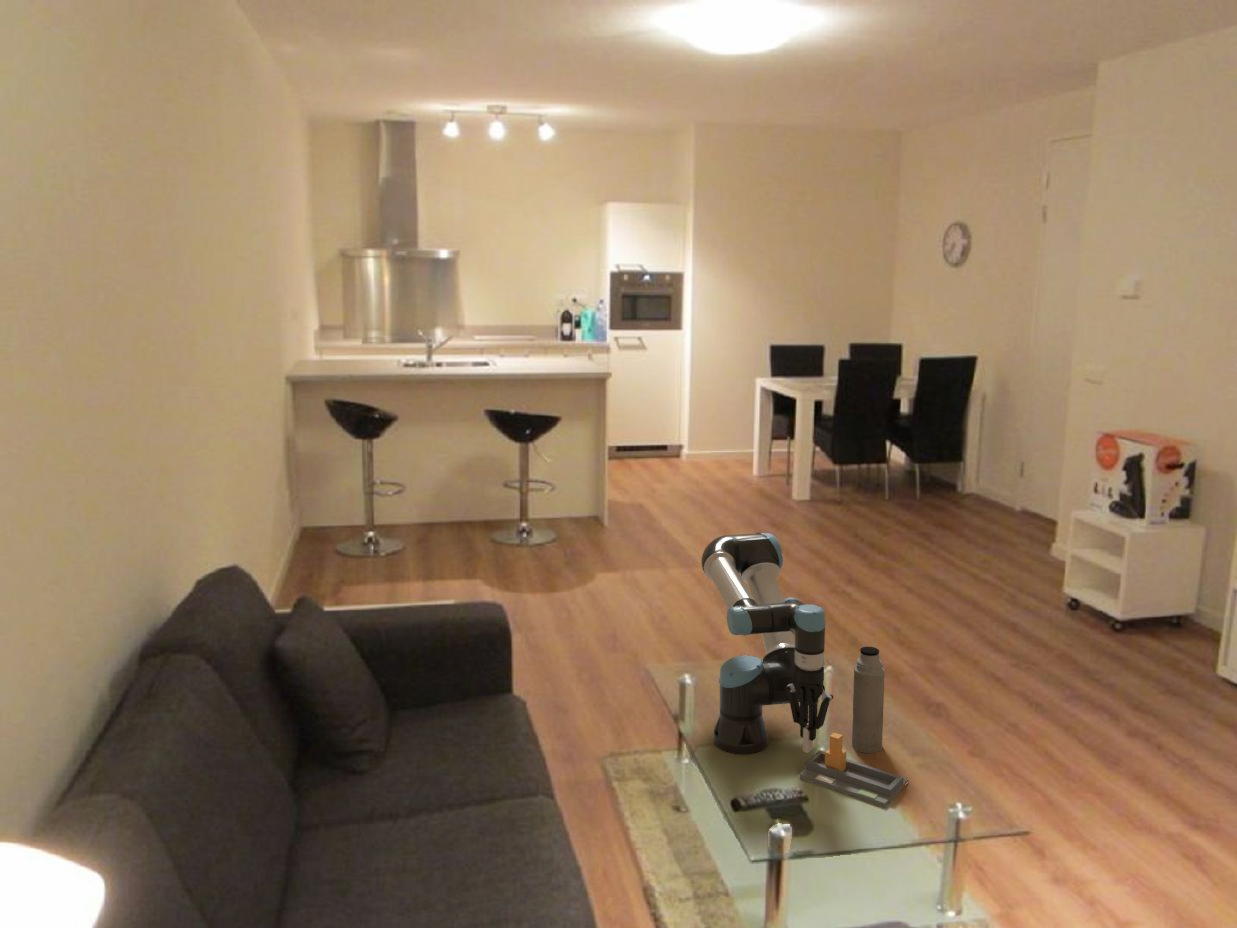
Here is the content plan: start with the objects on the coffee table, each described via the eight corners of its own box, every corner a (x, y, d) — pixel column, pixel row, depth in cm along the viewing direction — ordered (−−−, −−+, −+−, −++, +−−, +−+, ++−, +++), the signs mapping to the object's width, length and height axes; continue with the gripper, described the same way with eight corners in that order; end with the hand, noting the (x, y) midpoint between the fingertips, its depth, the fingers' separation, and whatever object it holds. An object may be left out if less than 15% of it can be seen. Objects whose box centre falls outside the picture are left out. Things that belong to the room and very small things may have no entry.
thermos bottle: (881, 739, 262) (884, 644, 256) (883, 754, 254) (886, 655, 249) (851, 737, 263) (854, 642, 258) (852, 751, 256) (855, 654, 250)
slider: (824, 770, 244) (825, 736, 242) (831, 763, 247) (832, 730, 245) (839, 774, 241) (839, 740, 239) (846, 768, 244) (846, 734, 242)
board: (799, 778, 243) (799, 766, 242) (824, 756, 254) (825, 745, 253) (884, 807, 229) (885, 795, 228) (907, 783, 239) (908, 771, 239)
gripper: (779, 664, 245) (778, 748, 249) (825, 676, 237) (823, 763, 241) (793, 654, 251) (792, 737, 255) (839, 666, 242) (837, 751, 247)
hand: (807, 749), depth 248 cm, fingers closed
